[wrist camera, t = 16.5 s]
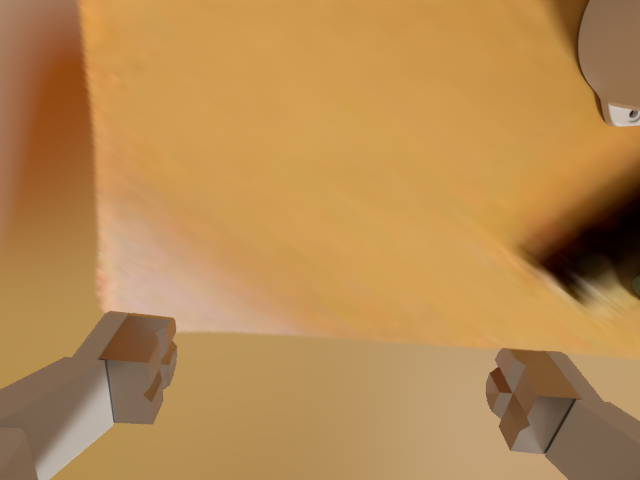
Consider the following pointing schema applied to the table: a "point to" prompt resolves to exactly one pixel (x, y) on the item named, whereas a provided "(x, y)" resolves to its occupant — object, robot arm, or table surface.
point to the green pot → (636, 284)
